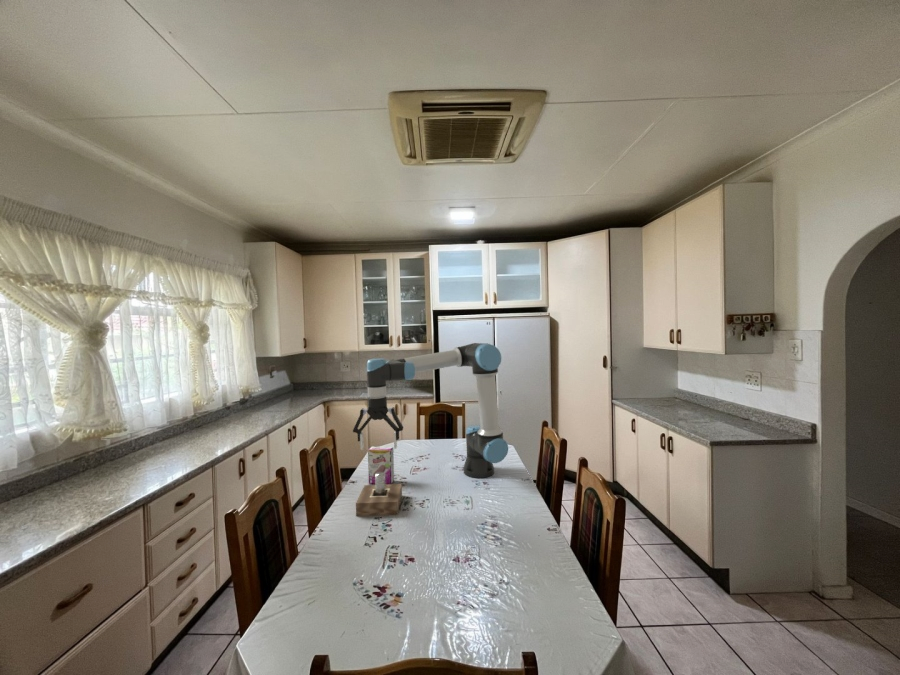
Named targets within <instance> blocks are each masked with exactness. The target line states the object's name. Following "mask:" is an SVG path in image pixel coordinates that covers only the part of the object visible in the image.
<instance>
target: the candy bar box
mask: <svg viewBox="0 0 900 675" xmlns="http://www.w3.org/2000/svg"><path fill="white" fill-rule="evenodd" d="M367 454H368V455H367V457H368V458H367V459H368V460H367V462H368V485H375V473H377V472H385V484H394V481H395V469H394V468H395V467H394V466H395V464H394V463H395V462H394V446H370V447H369V448H368V449H367Z"/></svg>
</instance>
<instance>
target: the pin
mask: <svg viewBox="0 0 900 675" xmlns="http://www.w3.org/2000/svg"><path fill="white" fill-rule="evenodd" d="M374 485H375V496H385V472H377V473H375V484H374Z"/></svg>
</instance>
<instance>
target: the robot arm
mask: <svg viewBox="0 0 900 675" xmlns="http://www.w3.org/2000/svg"><path fill="white" fill-rule="evenodd" d="M501 363H502V353H501V351H500V350H499V348H498V347H497V346H496V345H494V344H491V343H486V342H485V343H481V342H480V343H479V342H474V343H473V342H472V343H470V344H466V345H462V346H458V347H457V346H456V347H454V348H453V349H452V350H446V351H439V352H433V353H428V354H421V355H417V356H410V357H404V358H398V359H390V360H387V361H386V359H385V358H371V359H368V360H367V362H366V379H367V380H366V382H367V397H368V398H367V409H365V408H361V409H360V411H359V417H358V419H357V421H356V423H355V425H354V427H353V429H352V433H354V434H357V442H359V443H360V451H363V450H364V448H365V444H364V442H365V441H364V432H363V430H364V429H365V428H366V426H367V425H368V424H369V423H370V421H371V420H374V421H377V420H379V421H382V420H384V421H385V422H386V423H387V424H388V426H389V427H391V429H392V430H393V450H396V449H397V448H398V441H399V440H400V432H402V431H403V430H404V426H403V424H402V422H401V420H400V419H399V417H398V415H397V413H396V408H395V407H391V408H388V404H387V403H388V401H387V400H388V399H387V382H395V381H396V382H397V381H409V380H413V379H414V378H415V376H416V374H418V373H423V372H427V371H433V370H437V369H438V370H440V369H444V368H450V367H454V366H456V367H457V368H460V367H461V368H462V367H472V368H471V369H472V370H471V371H472V375H473V376H475V378H476V388H477V390H476V391H477V401H478V402H477V404H478V414H479V415H478V416H479V424H478V425H477V424H475V425H470V426H468V427H466V429H465V430H466V431H465V432H466V433H465V438H466V439H465V440H466V441H465V442H466V445H465V446H466V458H465V462H464V466H463V474H464V475H465V476H468V477H470V478H475V479H482V478H483V479H484V478H488V477H491V476H493V475H494V473H495V467H494V464H498V463H500V462H502V461H503V460H504V459H505V458H506V457H507V455H508V452H509V445H508V443H507V441H506V439H504V433H503V431H504V430H503V429H502V428H500V424H499V413H498V412H499V411H498V409H499V408H498V399H497V397H498V396H497V395H498V394H497V386H496V385H497V383H496V375H497V374H498V373H499V366H500V365H501ZM388 412H389V414H391V415H392V418H393V419H394V421H392V419H391V418H390V417H389V415H387V414H388ZM366 414H367V415H369V417H368V418H367V419H366V420H365V421H364V423H363V424H362V425H361V426H360V424H361V422H362V420H363V418H364V415H366ZM394 422H395V423H394ZM359 427H360V428H359Z"/></svg>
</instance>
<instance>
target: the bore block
mask: <svg viewBox="0 0 900 675" xmlns="http://www.w3.org/2000/svg"><path fill="white" fill-rule="evenodd" d="M402 485H403V484H402V483H392V484H385V496H375V484H364V485H363V487H362V490H361V491H360V493H359V496H358V498H357V500H356V502H355V516H356V517H366V516H367V517H368V516H369V517H370V516H389V515H393V516H394V515H395V516H396V515H399V511H400V505H401V501H402V498H403V497H402V496H403V489H402V488H403V487H402Z"/></svg>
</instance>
